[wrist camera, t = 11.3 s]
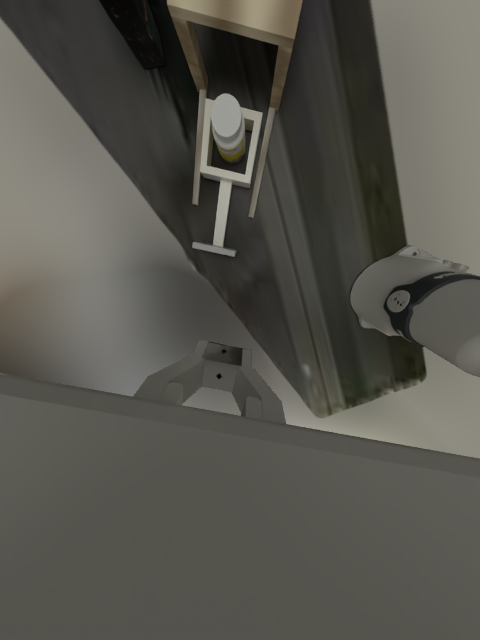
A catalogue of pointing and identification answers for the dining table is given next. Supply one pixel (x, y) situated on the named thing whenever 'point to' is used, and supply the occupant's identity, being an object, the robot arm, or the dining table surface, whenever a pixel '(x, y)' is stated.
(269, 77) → the dining table surface
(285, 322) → the dining table surface
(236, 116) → the supplement bottle
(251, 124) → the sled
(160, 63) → the green backpack
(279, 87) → the tunnel
